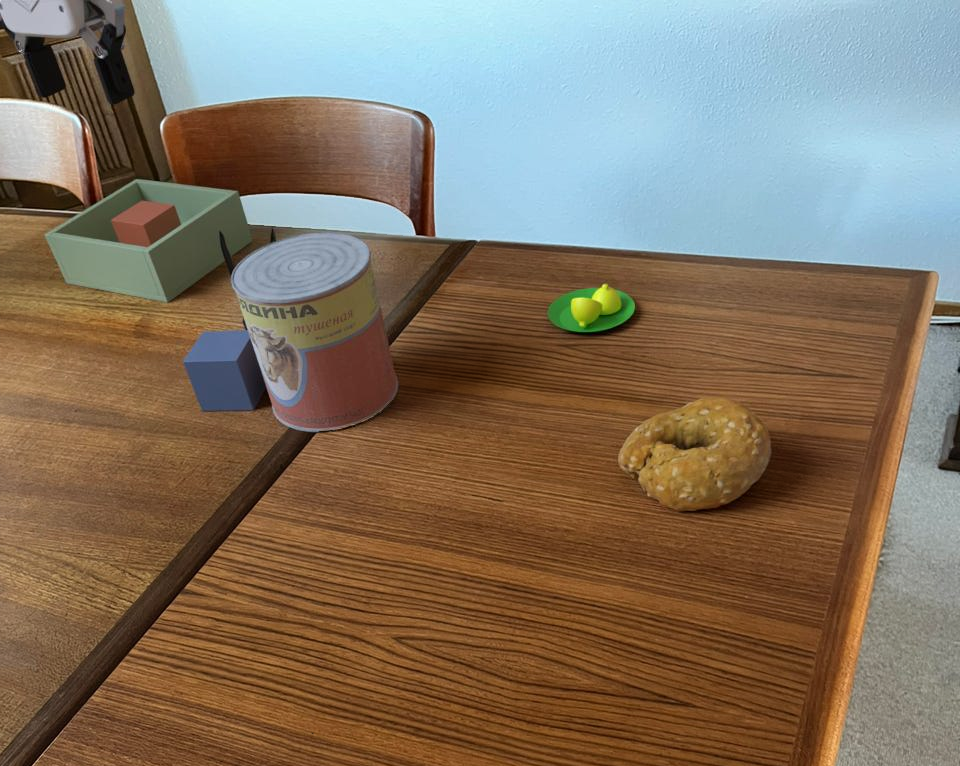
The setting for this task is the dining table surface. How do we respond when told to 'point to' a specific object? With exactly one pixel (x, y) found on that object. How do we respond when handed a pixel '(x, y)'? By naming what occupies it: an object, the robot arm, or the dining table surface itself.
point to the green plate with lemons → (591, 309)
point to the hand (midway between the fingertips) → (87, 96)
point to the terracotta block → (145, 223)
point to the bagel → (698, 454)
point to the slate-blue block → (225, 371)
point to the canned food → (317, 329)
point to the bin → (165, 264)
